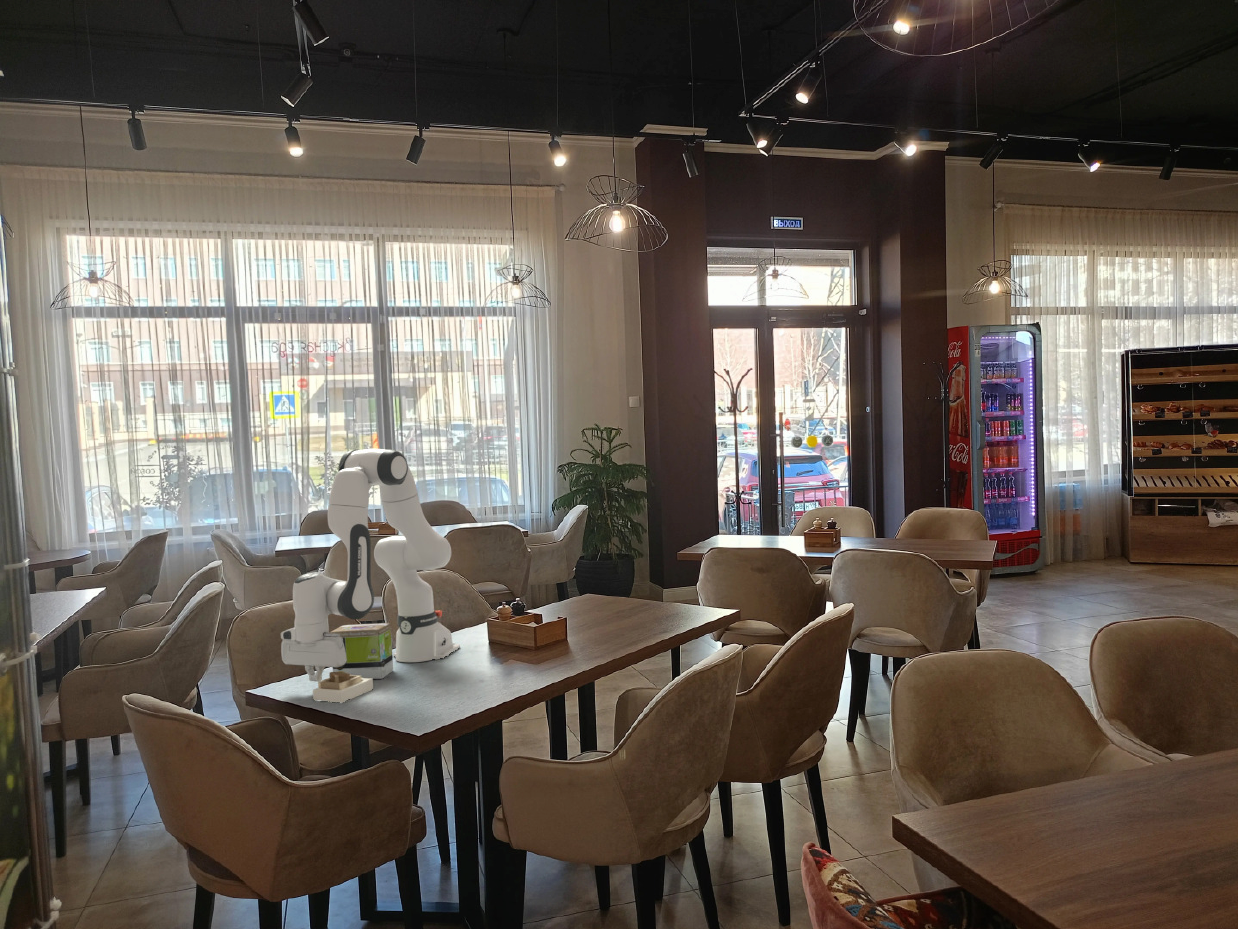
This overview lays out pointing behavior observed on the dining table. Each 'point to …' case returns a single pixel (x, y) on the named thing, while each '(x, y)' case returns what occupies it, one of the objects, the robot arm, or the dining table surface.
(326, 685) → the caddy
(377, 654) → the tea box
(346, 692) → the bay
